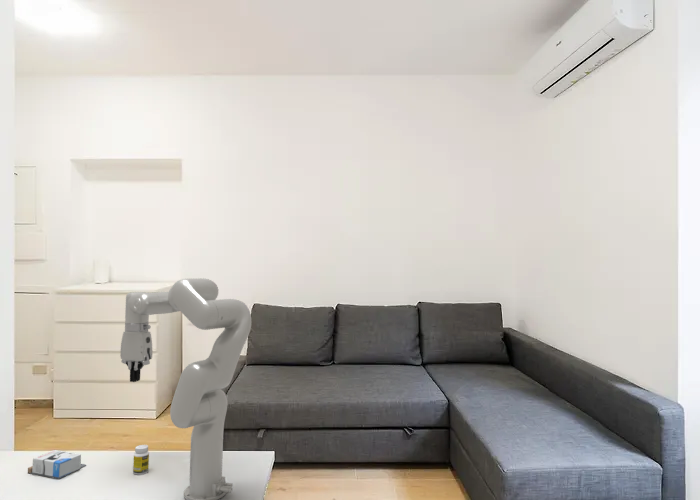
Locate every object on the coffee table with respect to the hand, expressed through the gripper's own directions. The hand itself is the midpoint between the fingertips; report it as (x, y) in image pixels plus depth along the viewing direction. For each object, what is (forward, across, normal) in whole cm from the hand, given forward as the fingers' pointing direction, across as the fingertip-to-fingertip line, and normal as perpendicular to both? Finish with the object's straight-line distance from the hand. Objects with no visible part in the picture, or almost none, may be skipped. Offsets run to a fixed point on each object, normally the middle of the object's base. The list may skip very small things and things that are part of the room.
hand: (134, 381), depth 170 cm
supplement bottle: (+29, -6, +3) cm, 30 cm away
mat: (+29, +22, +10) cm, 38 cm away
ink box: (+26, +14, +12) cm, 32 cm away
